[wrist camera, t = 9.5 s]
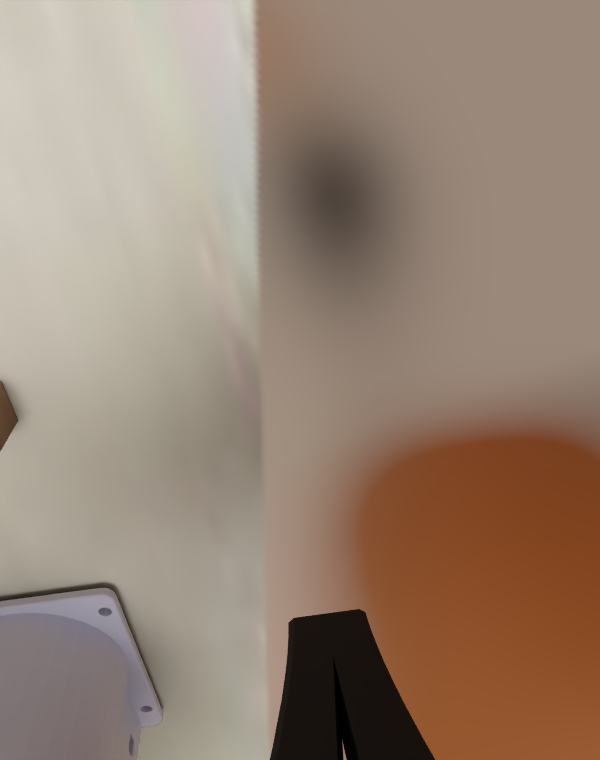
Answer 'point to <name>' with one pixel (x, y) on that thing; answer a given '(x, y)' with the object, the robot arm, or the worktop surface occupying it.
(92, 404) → the worktop surface
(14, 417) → the guide channel
